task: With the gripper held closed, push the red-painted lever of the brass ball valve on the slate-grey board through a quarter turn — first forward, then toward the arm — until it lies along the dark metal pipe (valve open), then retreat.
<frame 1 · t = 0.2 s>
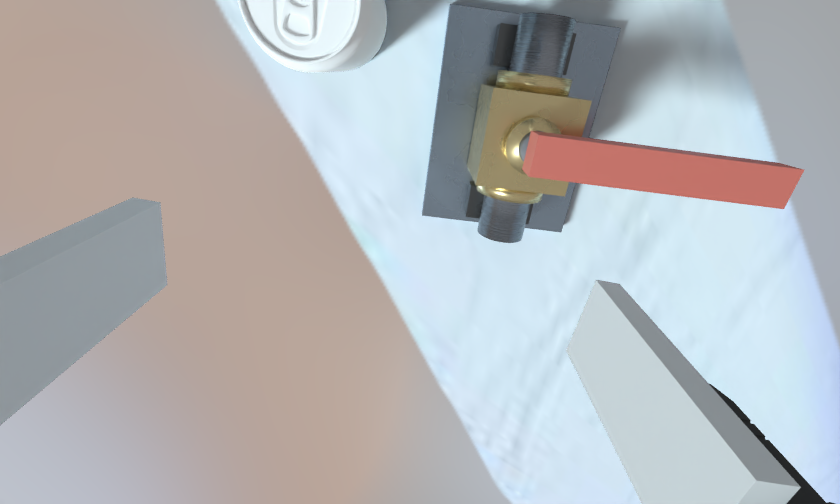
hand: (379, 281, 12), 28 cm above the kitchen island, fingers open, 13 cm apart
beverage can: (340, 18, 34), on the kitchen island
valve fixture: (509, 128, 37), on the kitchen island
lever: (649, 166, 27), point 12 cm above the kitchen island, hinge at 90.0°
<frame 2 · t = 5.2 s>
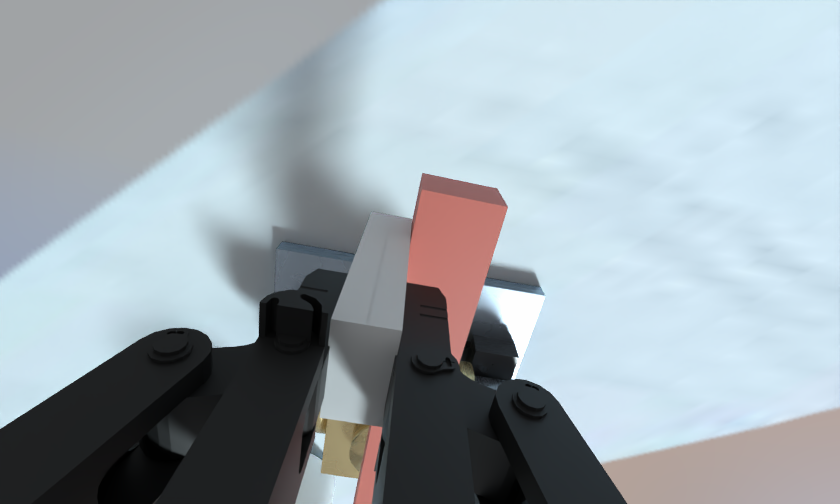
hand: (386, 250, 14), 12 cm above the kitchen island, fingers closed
beverage can: (293, 471, 37), on the kitchen island
valve fixture: (397, 346, 30), on the kitchen island
lever: (410, 379, 17), point 12 cm above the kitchen island, hinge at 89.2°, touching gripper
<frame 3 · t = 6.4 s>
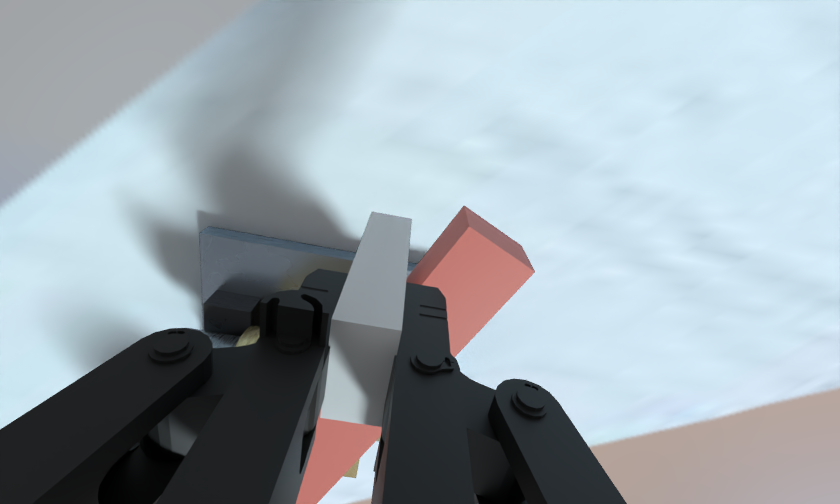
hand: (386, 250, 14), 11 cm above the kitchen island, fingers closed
valve fixture: (333, 334, 30), on the kitchen island
lever: (363, 383, 17), point 12 cm above the kitchen island, hinge at 65.5°, touching gripper
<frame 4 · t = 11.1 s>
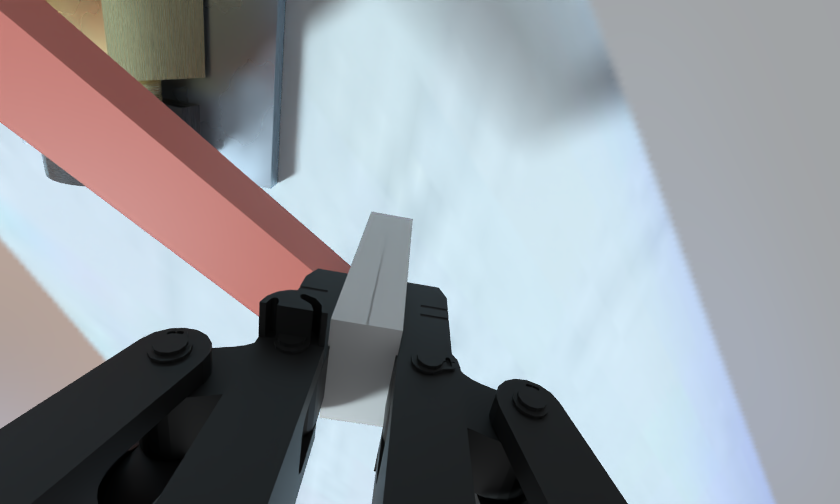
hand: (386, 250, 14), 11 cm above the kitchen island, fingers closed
lever: (129, 128, 13), point 12 cm above the kitchen island, hinge at 54.8°, touching gripper
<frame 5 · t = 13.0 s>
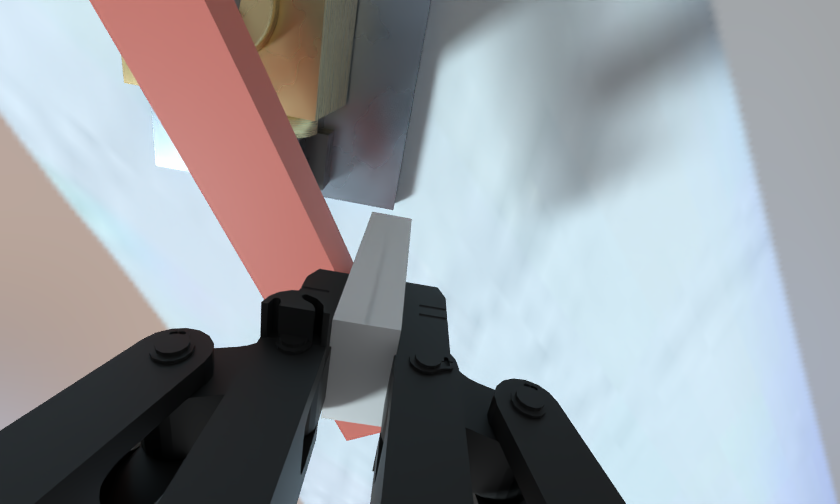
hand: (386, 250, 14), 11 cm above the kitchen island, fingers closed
valve fixture: (292, 19, 21), on the kitchen island
lever: (291, 220, 14), point 12 cm above the kitchen island, hinge at 29.8°, touching gripper
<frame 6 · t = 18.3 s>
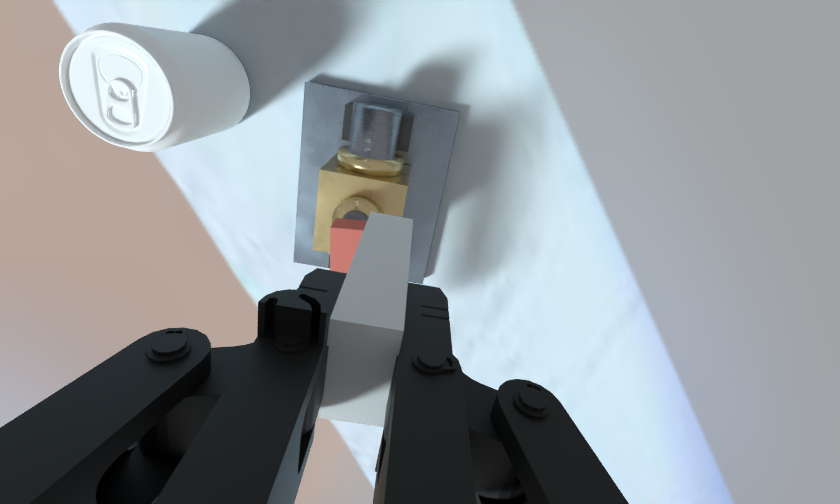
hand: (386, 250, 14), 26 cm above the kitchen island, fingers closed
beverage can: (209, 84, 37), on the kitchen island
valve fixture: (371, 190, 41), on the kitchen island
lever: (350, 315, 33), point 12 cm above the kitchen island, hinge at 5.2°
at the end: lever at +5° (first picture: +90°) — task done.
